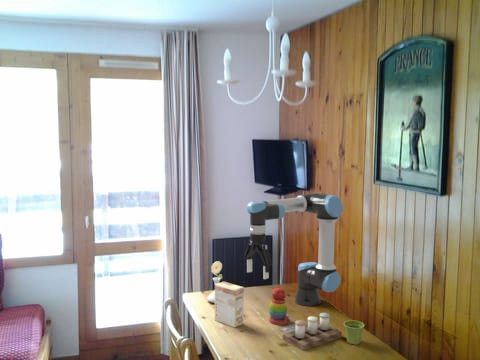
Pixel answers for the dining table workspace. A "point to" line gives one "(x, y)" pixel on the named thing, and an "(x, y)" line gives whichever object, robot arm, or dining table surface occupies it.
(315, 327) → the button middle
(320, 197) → the robot arm
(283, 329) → the card
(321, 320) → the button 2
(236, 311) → the coffeecake box
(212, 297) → the flower in vase
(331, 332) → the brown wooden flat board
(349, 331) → the plant pot
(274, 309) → the stacking bear
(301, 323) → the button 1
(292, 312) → the dining table surface
